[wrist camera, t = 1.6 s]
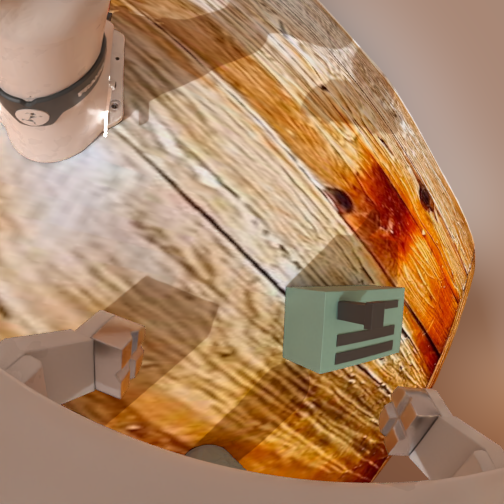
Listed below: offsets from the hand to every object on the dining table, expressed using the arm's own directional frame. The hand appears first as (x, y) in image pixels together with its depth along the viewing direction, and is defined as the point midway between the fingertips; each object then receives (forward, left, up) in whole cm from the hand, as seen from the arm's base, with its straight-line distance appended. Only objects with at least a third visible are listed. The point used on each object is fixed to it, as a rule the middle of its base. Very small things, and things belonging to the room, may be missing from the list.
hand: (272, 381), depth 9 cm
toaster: (+5, +31, -31) cm, 44 cm away
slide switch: (+2, +25, -22) cm, 33 cm away
